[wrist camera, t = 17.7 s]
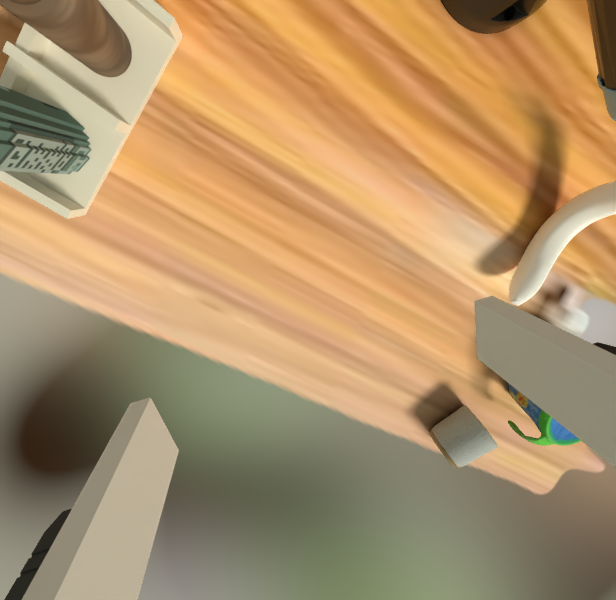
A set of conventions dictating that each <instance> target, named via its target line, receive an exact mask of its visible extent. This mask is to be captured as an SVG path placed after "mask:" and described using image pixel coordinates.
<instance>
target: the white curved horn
mask: <svg viewBox="0 0 616 600" xmlns="http://www.w3.org/2000/svg"><path fill="white" fill-rule="evenodd" d="M613 214H616V181H614V182H610V183H607V184H604V185H600V186H598V187H595V188H593V189H590V190H588V191H586V192H584V193H582V194H580V195H578V196H576V197H575V198H573V199H572V200H570V201H569V202H567V203H566V204H565V205H563V206H562V207H561V208H559V209H558V210H557V211H556V212H555V213H554V214H553V215H551V216H550V217H549V218H548V219H547V220H546V221H545V223H544V224H543V225H542V226H541V227H540V229H539V230H538V231H537V233H536V234H535V235H534V237H533V239H532V240H531V242H530V243H529V245H528V247H527V249H526V250H525V252H524V254H523V256H522V258H521V260H520V262H519V264H518V267H517V269H516V271H515V273H514V275H513V277H512V279H511V282H510V286H509V300H510V302H511V303H512V304H513V305H517V306H519V305H521V304H522V303H524V302H526V301H527V300H528V299H530V298H531V297H532V296H533V295H534V294H535V293H536V292H537V291H538V290H539V289H540V287H541V286H542V284H543V282H544V281H545V279H546V277H547V275H548V273H549V271H550V269H551V268H552V266H553V264H554V262H555V261H556V259H557V258H558V256H559V255H560V253H561V252H562V250H563V249H564V247H565V246H566V245H567V244H568V242H569V241H570V240H571V239H572V238H573V237H574V236H575V235H576V234H577V233H579V232H580V231H581V230H582V229H584V228H585V227H586V226H588V225H589V224H591V223H593V222H595V221H597V220H599V219H601V218H604V217H607V216H610V215H613Z"/></svg>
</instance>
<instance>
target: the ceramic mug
mask: <svg viewBox="0 0 616 600" xmlns="http://www.w3.org/2000/svg"><path fill="white" fill-rule="evenodd" d="M430 435H431V437H432V439H433V440H434V442H435V443H436V445H437V446H438V448H439V449H440V451H441V452H442V453H443V455H444V456H445V458H446V459H447V460H448V462H449V463H450V464H451V465H452V466H453V467H455V468H459V467H462V466H465V465H467V464H469V463H470V462H472V461H473V460H475V459H477V458H479V457H481V456H483V455H484V454H486V453H488V452H490V451H492V450H494V449H495V448H497V444H496V442H495V441H494V439H493V438H492V436H491V435H490V434H489V432H488V431H487V430H486V428H485V427H484V426H483V425H482V423H481V422H480V421H479V420H478V419H477V418H476V416H475V415H474V414H473V413H472V412H471V411H470V410H469V408H468V407H467V406H465V405H464V406H462V407H461V408H459V409H458V410H457V411H455V412H454V413H452V414H451V415H449V416H448V417H447V418H445V419H444V420H442V421H441V422H439V423H438V424H436V425H435V426H434V427H433V428H432V429H431V431H430Z"/></svg>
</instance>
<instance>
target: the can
mask: <svg viewBox="0 0 616 600" xmlns="http://www.w3.org/2000/svg"><path fill="white" fill-rule="evenodd" d="M84 129H85V128H84V127H83V126H82V125H81V124H80V123H79V122H78V121H77V120H76V119H74V118H73V117H72V116H71V115H70V114H69V113H68V112H67V111H64V110H62V109H59V108H57V107H54V106H51V105H49V104H46V103H44V102H41V101H39V100H36V99H34V98H31V97H29V96H26V95H24V94H21V93H18V92H16V91H13V90H11V89H8V88H6V87H3V86H1V85H0V171H14V172H33V173H53V174H70V173H71V172H72V171H73V172H78V171H79V170H80V169H81V168H82V167H83V166H84V165H85V164H86V162H87V161H88V160H89V159H90V158H89V157H88V156H87V154H88V153H89V152H90V151H91V150H92V149H90V148H89V147H88V146H89V145H90V143H89V142H88V141H87V140H88V139H89V137H88V136H87V135H86V134H85V133H84V132H83V130H84Z"/></svg>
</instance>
